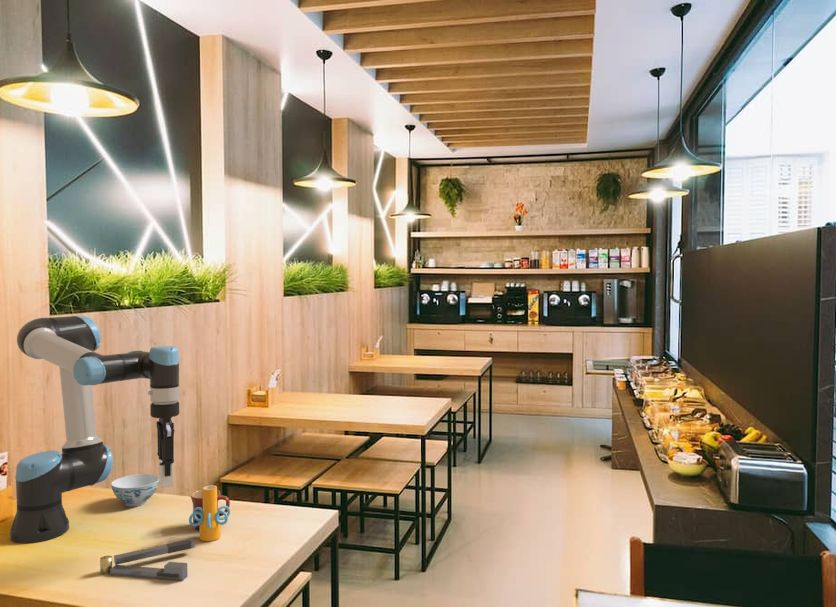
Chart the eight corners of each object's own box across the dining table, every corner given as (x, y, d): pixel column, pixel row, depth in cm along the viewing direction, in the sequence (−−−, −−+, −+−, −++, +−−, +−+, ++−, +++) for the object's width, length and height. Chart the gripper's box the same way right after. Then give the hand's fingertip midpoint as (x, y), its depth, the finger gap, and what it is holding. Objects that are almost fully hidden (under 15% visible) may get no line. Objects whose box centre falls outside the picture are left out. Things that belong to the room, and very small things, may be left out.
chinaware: (128, 514, 204) (127, 490, 203) (102, 505, 212) (101, 482, 212) (168, 501, 216) (168, 478, 216) (142, 492, 224) (142, 471, 224)
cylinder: (238, 533, 188) (238, 484, 188) (216, 547, 178) (216, 495, 178) (204, 528, 192) (204, 480, 192) (181, 541, 182) (180, 490, 182)
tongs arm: (115, 565, 163) (115, 558, 163) (114, 561, 165) (113, 555, 165) (194, 547, 174) (194, 541, 174) (192, 544, 176) (192, 538, 176)
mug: (185, 531, 190) (185, 497, 190) (198, 520, 199) (198, 488, 198) (223, 532, 189) (223, 499, 188) (235, 521, 198) (234, 489, 197)
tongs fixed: (97, 574, 162) (97, 559, 162) (104, 569, 165) (104, 555, 165) (182, 581, 158) (181, 566, 158) (187, 576, 161) (187, 561, 161)
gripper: (146, 398, 180) (147, 479, 181) (155, 408, 166) (156, 495, 167) (173, 396, 184) (174, 475, 185) (184, 405, 170) (185, 491, 171)
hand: (165, 484), depth 176 cm, fingers open, 3 cm apart
